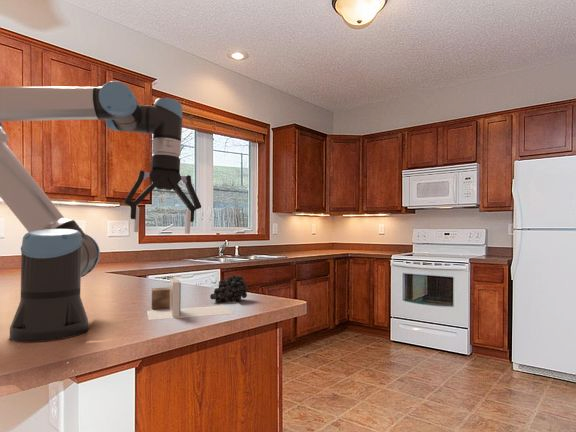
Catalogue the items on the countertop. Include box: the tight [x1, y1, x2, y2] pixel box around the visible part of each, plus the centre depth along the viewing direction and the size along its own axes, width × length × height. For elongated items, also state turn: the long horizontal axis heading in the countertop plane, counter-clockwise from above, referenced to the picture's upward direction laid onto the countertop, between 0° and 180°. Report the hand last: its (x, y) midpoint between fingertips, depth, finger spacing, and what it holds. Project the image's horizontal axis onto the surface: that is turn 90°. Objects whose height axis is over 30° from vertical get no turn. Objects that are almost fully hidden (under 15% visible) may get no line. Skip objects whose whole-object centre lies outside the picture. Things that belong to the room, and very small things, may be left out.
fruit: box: [209, 274, 249, 304], centre depth 127 cm, size 9×8×15 cm
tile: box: [169, 277, 182, 317], centre depth 107 cm, size 2×9×9 cm, turn 21°
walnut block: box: [151, 286, 170, 310], centre depth 115 cm, size 5×5×6 cm
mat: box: [146, 305, 234, 321], centre depth 108 cm, size 22×12×1 cm, turn 112°
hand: (162, 232), depth 107 cm, fingers open, 13 cm apart
